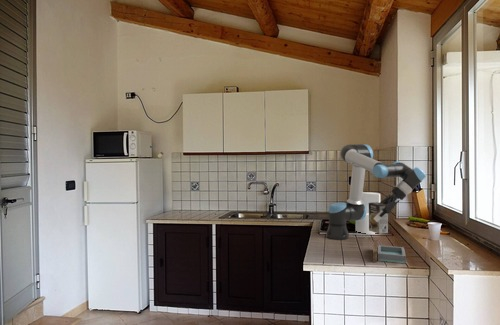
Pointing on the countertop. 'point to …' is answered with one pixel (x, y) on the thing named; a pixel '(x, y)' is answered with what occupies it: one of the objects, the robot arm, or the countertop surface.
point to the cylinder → (364, 223)
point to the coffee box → (382, 223)
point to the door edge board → (375, 250)
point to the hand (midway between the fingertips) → (372, 218)
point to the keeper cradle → (391, 254)
